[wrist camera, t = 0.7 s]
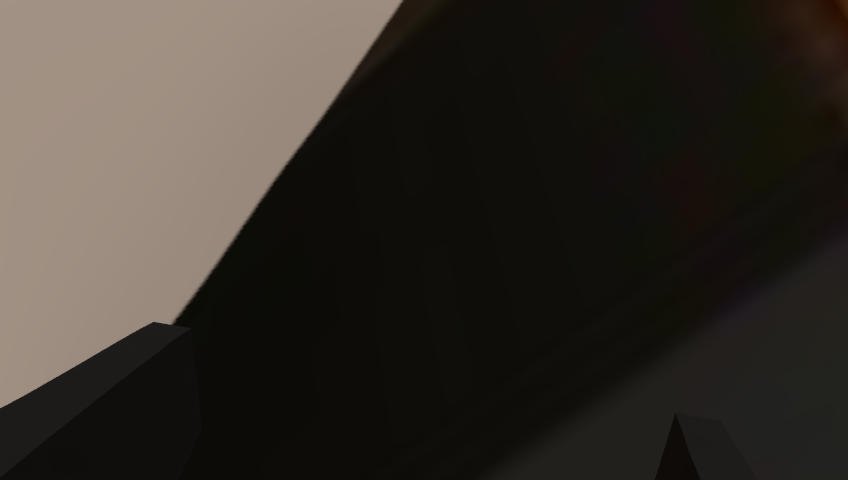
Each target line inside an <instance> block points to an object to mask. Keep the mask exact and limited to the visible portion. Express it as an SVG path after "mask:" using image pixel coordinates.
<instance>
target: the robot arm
mask: <svg viewBox="0 0 848 480" xmlns="http://www.w3.org/2000/svg"><path fill="white" fill-rule="evenodd" d="M201 429H202V427H201V418H200V409H199V400H198V390H197V381H196V372H195V363H194V354H193V345H192V336H191V328H185V327H180V326H174V325H168V324H162V323H157V322H153V323H151V324H149V325H147V326H145V327H143V328H141V329H139V330H138V331H136V332H134V333H132V334H130V335H129V336H127V337H125V338H123V339H122V340H120V341H118V342H116V343H115V344H113V345H111V346H110V347H108V348H106V349H104V350H103V351H101V352H99V353H97V354H96V355H94V356H93V357H91V358H89V359H87V360H86V361H84V362H82V363H81V364H79V365H77V366H75V367H74V368H72V369H70V370H69V371H67V372H65V373H63V374H61V375H60V376H58V377H56V378H54V379H53V380H51V381H49V382H47V383H46V384H44V385H42V386H40V387H39V388H37V389H35V390H33V391H32V392H30V393H28V394H26V395H25V396H23V397H21V398H19V399H17V400H15V401H13V402H12V403H10V404H8V405H6V406H4V407H2V408H0V480H178V478H179V476H180V474H181V472H182V470H183V468H184V466H185V464H186V462H187V460H188V458H189V456H190V454H191V451H192V449H193V447H194V445H195V443H196V440H197V438H198V436H199V434H200V432H201ZM655 480H758V479H757V477H756V475H755V474H754V472H753V471H752V469H751V467H750V466H749V464H748V463H747V461H746V459H745V458H744V456H743V455H742V453H741V451H740V450H739V448H738V447H737V445H736V443H735V442H734V440H733V439H732V437H731V435H730V434H729V432H728V431H727V429H726V428H725V426H724V425H723V424H722V422H721V421H718V420H712V419H706V418H701V417H695V416H689V415H683V414H678V413H675V416H674V419H673V423H672V426H671V429H670V432H669V436H668V439H667V442H666V446H665V449H664V452H663V455H662V459H661V462H660V465H659V469H658V472H657V475H656V478H655Z"/></svg>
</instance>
